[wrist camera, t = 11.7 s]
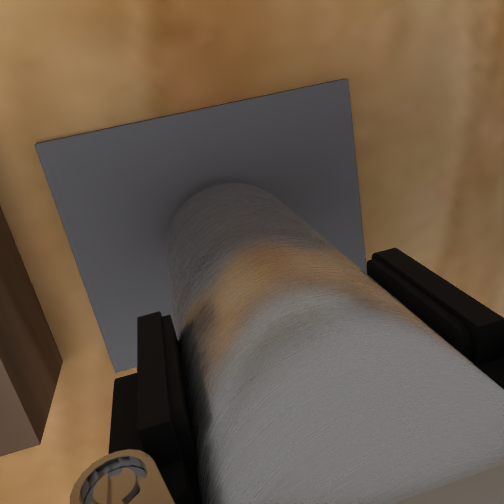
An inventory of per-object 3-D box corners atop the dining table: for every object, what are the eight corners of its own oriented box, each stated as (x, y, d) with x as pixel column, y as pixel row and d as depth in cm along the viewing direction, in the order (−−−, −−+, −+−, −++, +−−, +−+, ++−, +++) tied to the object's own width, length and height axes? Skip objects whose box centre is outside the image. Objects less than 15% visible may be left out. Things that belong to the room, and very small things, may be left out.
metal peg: (285, 168, 17) (758, 447, 4) (305, 290, 19) (667, 746, 6) (148, 201, 16) (189, 666, 3) (182, 324, 18) (293, 925, 5)
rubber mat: (343, 78, 19) (347, 78, 18) (365, 297, 22) (369, 300, 22) (36, 143, 17) (34, 144, 17) (116, 367, 21) (115, 372, 20)
